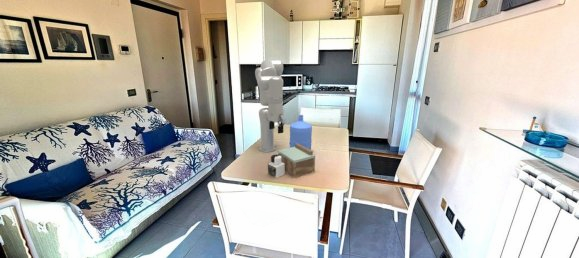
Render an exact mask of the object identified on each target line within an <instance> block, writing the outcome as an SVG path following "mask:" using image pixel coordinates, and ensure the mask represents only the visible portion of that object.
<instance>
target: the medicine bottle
mask: <svg viewBox="0 0 579 258" xmlns="http://www.w3.org/2000/svg"><path fill="white" fill-rule="evenodd" d="M267 171H268V172H267V174H268V176H271V177H272V178H275V179H278V178H280V177H282V176H284V175H285V173H286V172H285V164H284V163H282V162H281V156H280V155H278V154H272V155H271V156H270V162H269V163H267Z"/></svg>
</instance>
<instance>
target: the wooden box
mask: <svg viewBox="0 0 579 258" xmlns="http://www.w3.org/2000/svg"><path fill="white" fill-rule="evenodd" d="M277 155H280V156H281V162H282V163H284V164H285V173H286V174H288V175H289V176H290V177H292V178H294V179H295V178H297V177H301V176H305V175H308V174H311V173H314V172H315V168H316V167H315V165H316V164H315V163H316V157H315V158H312V159H308V160H304V161H300V162H297V163H293V162H292V161H290V160H288V159H287V158H285V157H284V156H282V155H281V154H279V153H278V152H277Z"/></svg>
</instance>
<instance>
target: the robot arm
mask: <svg viewBox="0 0 579 258" xmlns="http://www.w3.org/2000/svg"><path fill="white" fill-rule="evenodd" d="M283 71H284V63H283V62H282V61H281V60H280V59H266V60H263V61H261V63H260V67H256V68H255V71H254V75H255V79H256V82H257V87H258V89H259V102H260V105H261V106H263V108H261V109H259V111H258V118H259V123H260V125H259V126H260V146H259V147H258V151H259V152H263V153H272V152H274V151H276V149H277V148H276V146H275V143H274V141H275V139H274V138H275V137H274V136H275V133H274V132H275V131H274V129H275V128H276V127H275V126H276V125H275V123H276V124H277V125H278V126H277V134H283V133H284V127H285V124H286V118H285V117H284V105H283V103H284V102H283V101H284V99H283V97H284V96H283V95H284V93H283V92H284V91H283V90H284V89H283V86H284V78H283V77H282V74H283Z"/></svg>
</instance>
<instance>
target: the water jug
mask: <svg viewBox="0 0 579 258" xmlns="http://www.w3.org/2000/svg"><path fill="white" fill-rule="evenodd" d="M312 131H313V125H312V124H310V123H308V122H306V121H304V115H303V114H299V115H298V120H297V121H295V122H293V123H290V125H289V148H291V147H295V144H297V143H298V144H300V145H302V146H304V147H306V148H308V149H310V150H312V135H313V134H312V133H313V132H312Z"/></svg>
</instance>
